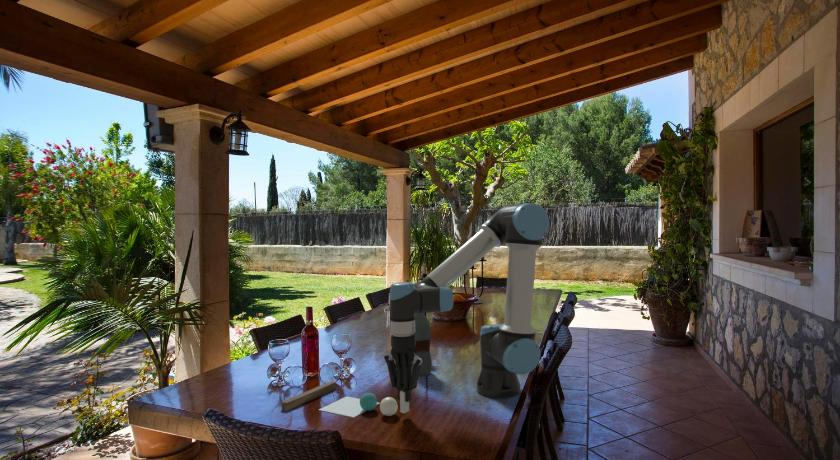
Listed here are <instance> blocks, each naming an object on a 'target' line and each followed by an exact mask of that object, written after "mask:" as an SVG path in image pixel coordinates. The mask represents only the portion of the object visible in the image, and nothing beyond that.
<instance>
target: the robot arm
mask: <svg viewBox="0 0 840 460" xmlns="http://www.w3.org/2000/svg"><path fill="white" fill-rule="evenodd" d="M549 229H550V218H549V215H548V214H547V212H546V211H545V209H544V208H543V207H541V206H540V205H539V204H536V203H531V202H530V203H529V202H522V203H516V204H508V205H505V206H504V207H501V208H500V209H499V210H497V211H496V212H495V213H494V214H493V215H491V217H489V218H488V219H487V220H485V222H484V223H482V225H481V226H480V230H479V231H478V232H477V233H475V234H474V235H473V236H472V237H470V238H469V239H468V240H467V241H466V242H465V243H464V244H463V245H461V246H460V247H459V248H457V250H455V251H454V252H453V253H452V254H451V255H449V256H448V257H447V258H446V259H445V260H443V261H442V262H441V263H440V264H439V265H438V266H437V267H436V268H434V269H433V270H432V271H431V272H430V273H429V274H427V275H426V276H425V277H424V278H423V279H422V280H419V281H417V282H414V283H413V282H411V281H410V282H393V283H392V284H391V285H389V286H390V287H389V298H388V299H389V310H390V311H389V314H390V318H389V319H390V323H389V324H390V325H389V326H390V334H391V335H390V347H391V350H390V352H389V354H386V355H384V356H383V359H384V361H385V362H386V365H387V369H388V374H389V379H390V384H391V387H392V388H395V389H396V390H397V401H399V407H400V408H399V410H400V411H399V412H400V413H402V414H407V413H408V412H410V402H411V400H412V391H413V390H415V389H417V387H418V382H419V372H420V367H421V364H422V363H423V361H424V359H423V358H419V357H418V356H417V353H416V351H415V346H416V339H415V334H413V333H415V313H424V314H425V313H427V314H428V313H443V312H450V311H451V310H452V309H453V307H454V293H453V291H452V289H451V288H450V286H451V285H453V284H454V283H455V282H456V281H457V280H458V279H460V278H461V276H463V275H464V274H465V273H467V271H469V270H470V269H471V268H472V267H473V266H474V265H475V264H477V263H478V262H479V261H481V260H482V259H483V258H484V257H485V256H486V255H487V254H489V252H491V251H492V250H493V249H494V248H500V247H501V246H502V245H503V244H504V245H505V246H506V247H507V248H508V250H509V251H508V264H507V275H506V277H507V278H506V293H505V306H504V307H505V308H504V321H503V323H498V324H497V323H495V324H485V325H482V326H481V328H480V335H479V338H480V340H479V341H480V365H481V366H480V367H481V368H480V370H479V375H478V378H477V381H476V392H477V393H478V394H480V395H482V396H485V397H490V398H509V397H514V396H517V395H519V394H520V393H521V392H522V391H521V390H522V389H521V383H520V380H519V376H518V375H526V374H528V373H531V372H532V371H533V370H534V369H535V368H536V367H537V366H538V365H539V363H540V359H541V349H540V346H539V345H538V343H537V342H536V329H534V327H533V326H532V317H533V315H532V314H533V304H534V303H533V301H534V285H535V274H536V273H535V272H536V260H537V259H536V258H537V251H538V250H540V248H541V247H542V244H543V243H542V240H543V238H544V237H545V235H547V234H548V231H549ZM413 360H414V366H413V370H412V375H411V367H412V361H413Z"/></svg>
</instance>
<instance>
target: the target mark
mask: <svg viewBox="0 0 840 460" xmlns="http://www.w3.org/2000/svg"><path fill="white" fill-rule="evenodd" d="M380 403H381V402H378V401H377V405H376V406H378V405H380ZM318 411H321V412H326V413H330V414H335V415H338V416H339V415H340V416H344V417H347V418H356V417H358V416H360V415H362V414H363V413H365V412H366V411H365V410H363V409H362V408H361V406H360V398H356V397H352V396H347V395H346V396H344V397H342V398H340V399H338V400H335V401H334V402H332V403H329V404H328V405H325V406H323V407H322V408H319V409H318Z"/></svg>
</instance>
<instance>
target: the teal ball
mask: <svg viewBox="0 0 840 460" xmlns="http://www.w3.org/2000/svg"><path fill="white" fill-rule="evenodd" d="M359 399H360V406H361V408H362V409H363V410H365V412H371V411H373V410H374V409H376V407H377V406H378V405H377V402H378V398H377V397H376V395H375V394H374V393H372V392H365V393H364V394H362V395H361V397H359Z"/></svg>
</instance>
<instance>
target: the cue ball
mask: <svg viewBox="0 0 840 460" xmlns="http://www.w3.org/2000/svg"><path fill="white" fill-rule="evenodd" d="M379 403H380V404H379V410H380V412H381V414H383V416H386V417H391V416H393V415H395V414H396V413H397V411H398V407H399V406H398V401H397V400H396V399H395V398H394V397H391V396H387V397H385V398H382V399H381V401H380V402H379Z"/></svg>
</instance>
